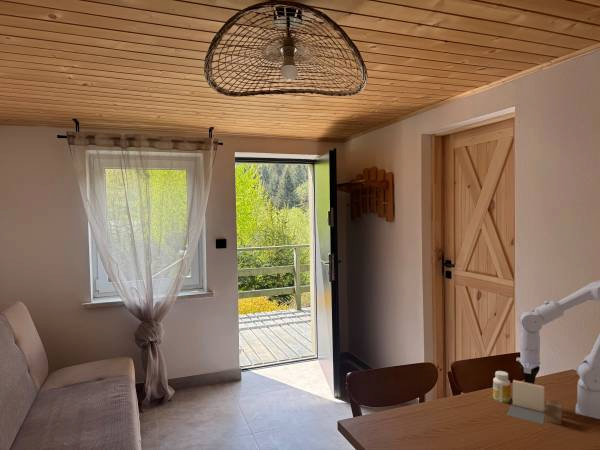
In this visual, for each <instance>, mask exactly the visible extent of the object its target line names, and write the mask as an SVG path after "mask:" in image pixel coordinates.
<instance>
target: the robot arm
mask: <svg viewBox="0 0 600 450" xmlns="http://www.w3.org/2000/svg"><path fill="white" fill-rule="evenodd" d="M588 301H595V302H596V301H599V302H600V278H599V279H598V280H596V281H593V282H590V283H588V284H587V285H585V286H584V287H582V288H579V289H578V290H576V291H575V292H573V293H571V294H569V295H567V296H566V297H564V298H561V299H560V300H558V301H555V300H550V301H548V300H545V301H543V304H542V305H539V306H538V307H535V308H534V307H533V308H531V309H530V310H529V311H524V312H522V313H521V315H520V317H519V318H518V319H519V320H518V321H519V323H520V324H521V328H520V350H519V351H520V353H519V354H520V357H516V362H519V363H520V365H519V369H520V372H521V373H522V376H523V380H524V381H523V382H527V383H531V384H536V383H535V381H536V378H537V377H536V376H537V375H538V374H539V371H540V370H541V369H540V368H541V367H540V366H541V361H540V360H541V358H540V356H541V351H540V350H541V349H540V348H541V347H540V346H541V335H540V331H541V329H542V328H543V326H544V325H547V324H549V323H551V322H553V321H555V320H557V319H560V318H561V317H563V316H564V315H565V311H567V310H569V309H572V308H574V307H577V306H578V305H581V304H583V303H585V302H588ZM575 371H576V372H575V373H576V374H577V376H578V377H579V378H578V381H577V387H576V388H577V393H576V397H577V399H576V401H577V402H576V404H575V412H574V413H575V414H576V415H581V416H585V417H589V418H594V419H596V420H597V419H598V420H600V333H599V335H598V337H597V339H596V341H595V343H594V345H593V347H592V348H591V351H590V353H589V354H587V355H585V357H584V359H583V360H582V361H581V362H579V363H578V364H577V366H576V369H575Z"/></svg>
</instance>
